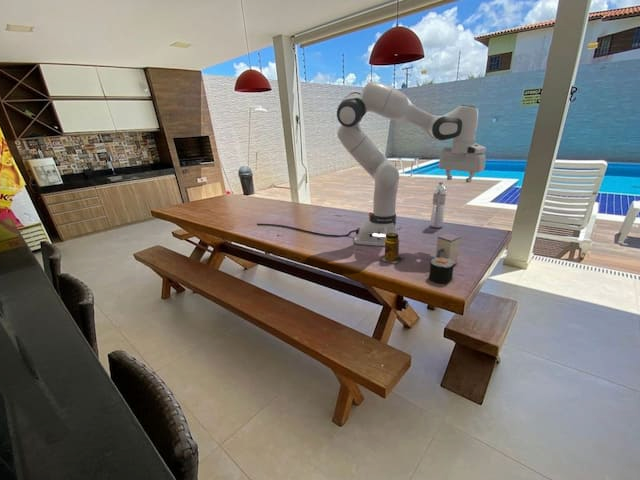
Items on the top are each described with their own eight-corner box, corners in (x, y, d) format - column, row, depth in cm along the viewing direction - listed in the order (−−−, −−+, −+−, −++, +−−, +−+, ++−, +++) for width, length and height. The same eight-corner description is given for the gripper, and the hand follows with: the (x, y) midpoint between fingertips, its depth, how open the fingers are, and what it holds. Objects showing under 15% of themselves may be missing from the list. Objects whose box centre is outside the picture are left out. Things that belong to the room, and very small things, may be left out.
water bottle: (443, 228, 173) (448, 183, 162) (430, 228, 174) (434, 183, 163) (441, 224, 179) (446, 181, 168) (429, 224, 180) (433, 181, 169)
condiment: (380, 260, 139) (381, 235, 134) (390, 253, 145) (391, 229, 140) (395, 263, 135) (396, 238, 130) (404, 257, 140) (405, 232, 135)
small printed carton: (456, 263, 132) (443, 269, 127) (443, 258, 137) (430, 264, 132) (460, 236, 127) (446, 242, 122) (447, 233, 132) (432, 238, 127)
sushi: (446, 285, 116) (449, 266, 112) (425, 279, 121) (427, 261, 117) (455, 277, 121) (457, 259, 117) (434, 271, 126) (436, 254, 123)
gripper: (437, 147, 136) (434, 179, 142) (481, 149, 121) (475, 185, 127) (446, 146, 139) (443, 177, 145) (490, 148, 124) (484, 182, 130)
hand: (458, 181), depth 136 cm, fingers open, 8 cm apart
